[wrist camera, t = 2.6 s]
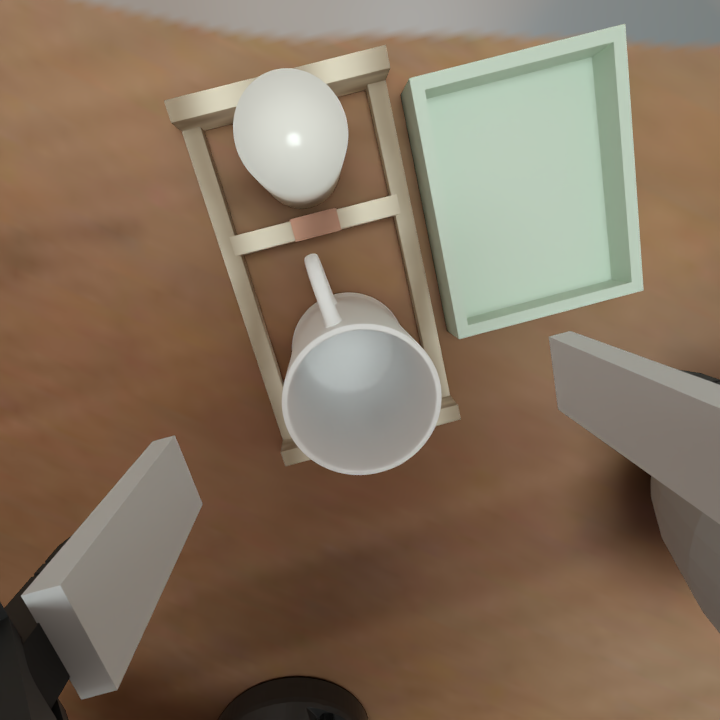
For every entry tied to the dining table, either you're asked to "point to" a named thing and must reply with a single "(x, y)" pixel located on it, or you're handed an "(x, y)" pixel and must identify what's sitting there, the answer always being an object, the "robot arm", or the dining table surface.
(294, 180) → the white capsule
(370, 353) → the mug
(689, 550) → the vase
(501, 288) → the tray
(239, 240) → the caddy
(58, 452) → the dining table surface
